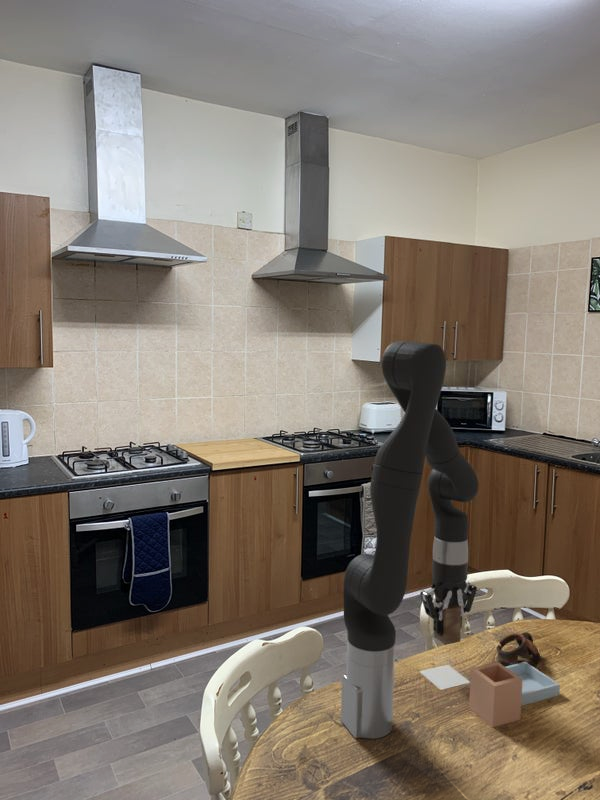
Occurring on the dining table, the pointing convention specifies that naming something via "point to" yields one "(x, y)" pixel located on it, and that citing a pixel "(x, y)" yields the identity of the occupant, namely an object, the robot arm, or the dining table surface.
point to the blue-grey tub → (534, 683)
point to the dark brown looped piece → (519, 649)
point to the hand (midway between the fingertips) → (447, 632)
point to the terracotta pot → (495, 694)
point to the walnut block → (451, 625)
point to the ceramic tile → (444, 677)
